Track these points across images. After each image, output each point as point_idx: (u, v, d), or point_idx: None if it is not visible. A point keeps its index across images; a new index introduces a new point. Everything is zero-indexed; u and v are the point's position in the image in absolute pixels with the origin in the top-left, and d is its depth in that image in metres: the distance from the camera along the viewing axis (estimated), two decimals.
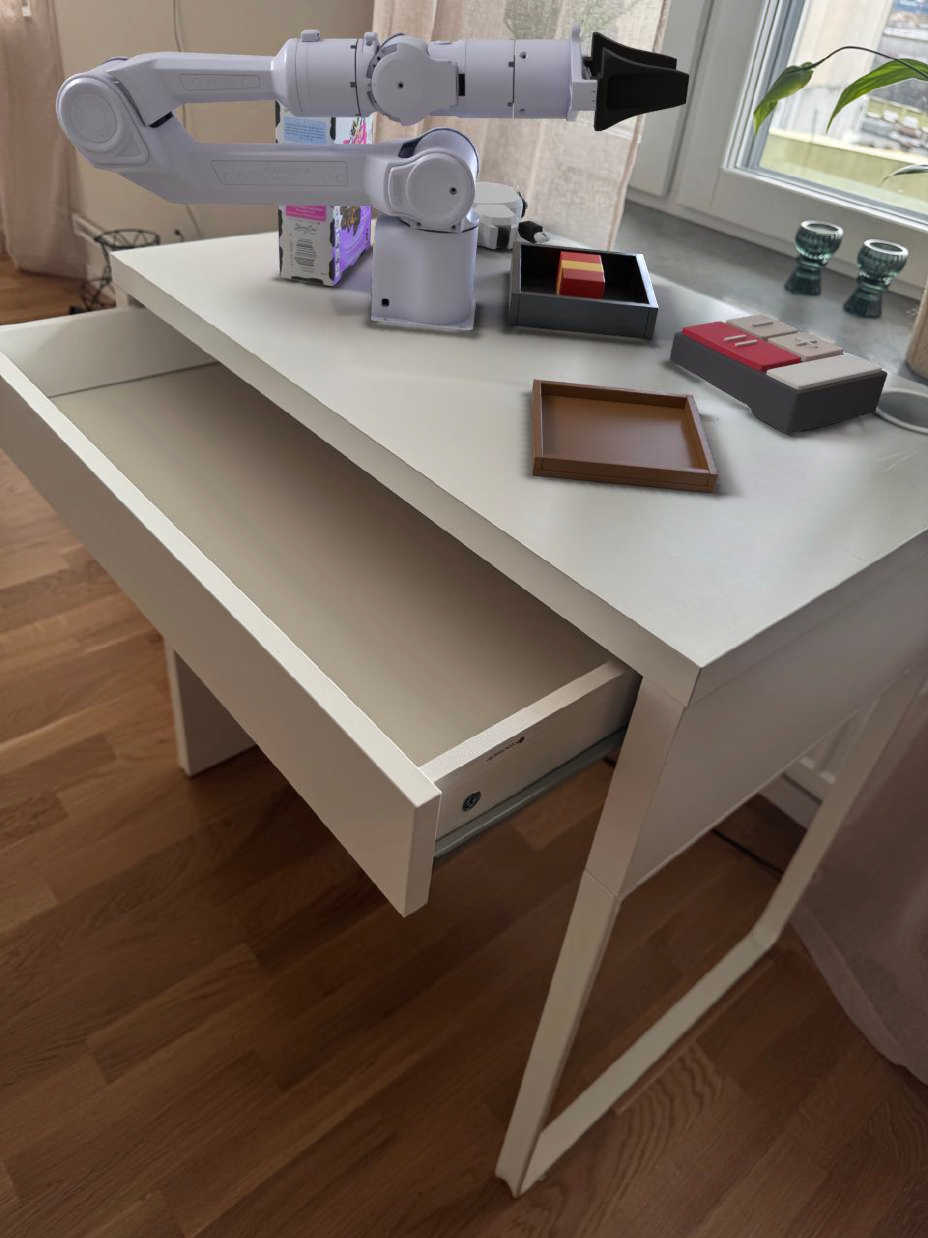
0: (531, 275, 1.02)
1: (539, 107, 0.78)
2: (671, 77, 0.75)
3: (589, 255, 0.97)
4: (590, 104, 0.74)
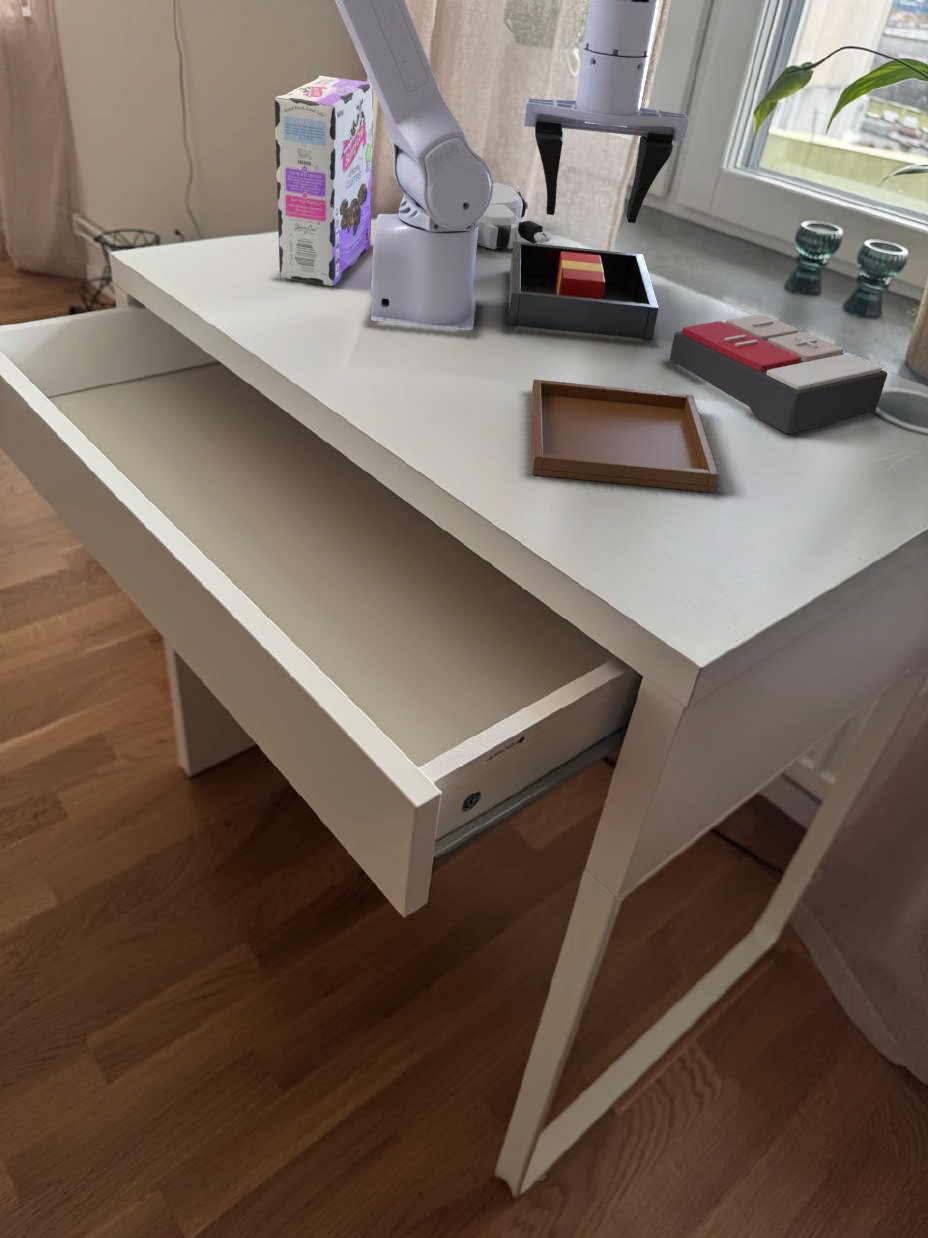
0: (531, 275, 1.02)
1: (640, 84, 0.83)
2: None
3: (589, 255, 0.97)
4: (685, 135, 0.86)
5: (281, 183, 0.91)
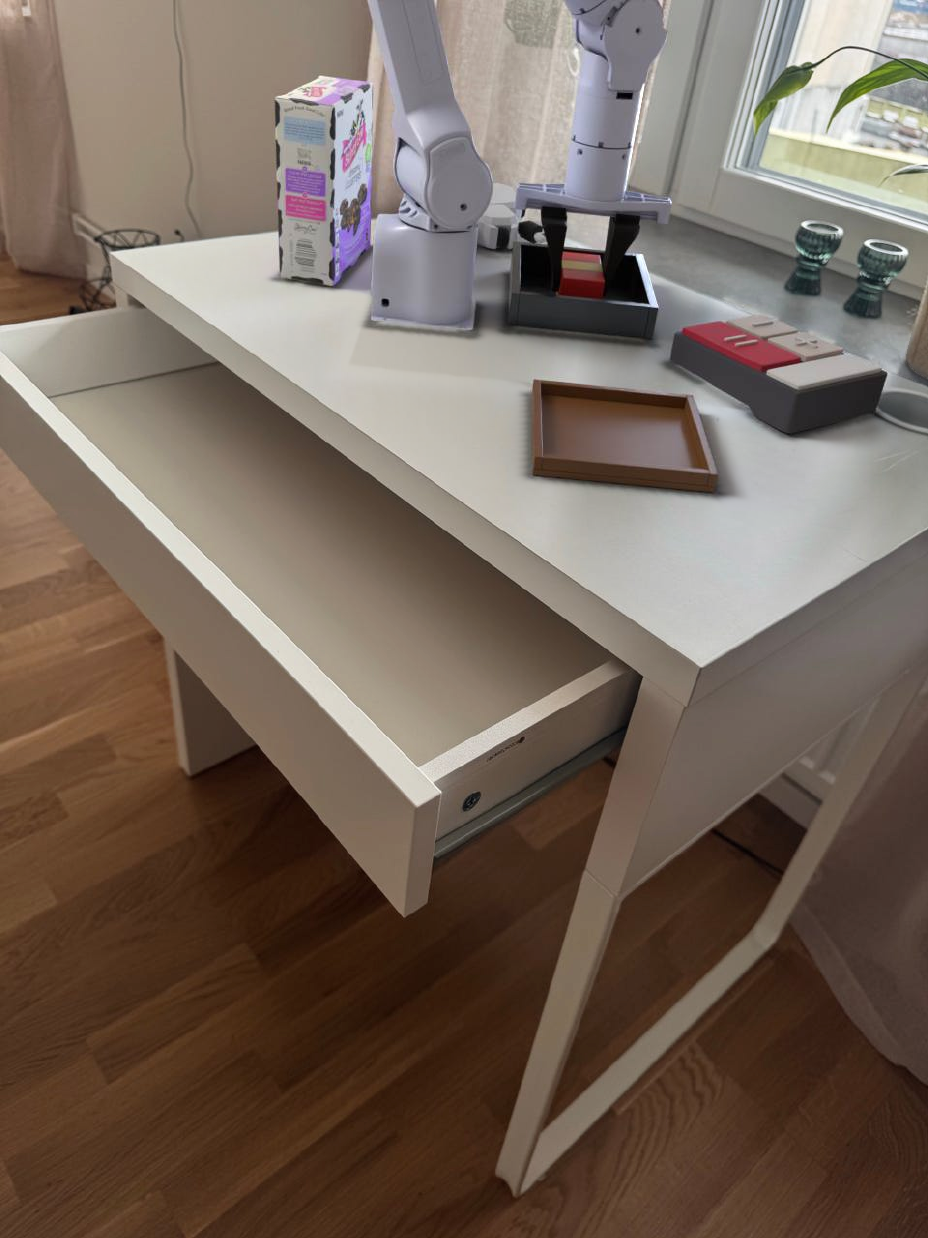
0: (531, 275, 1.02)
1: (625, 173, 0.87)
2: None
3: (589, 255, 0.97)
4: (668, 218, 0.91)
5: (281, 183, 0.91)
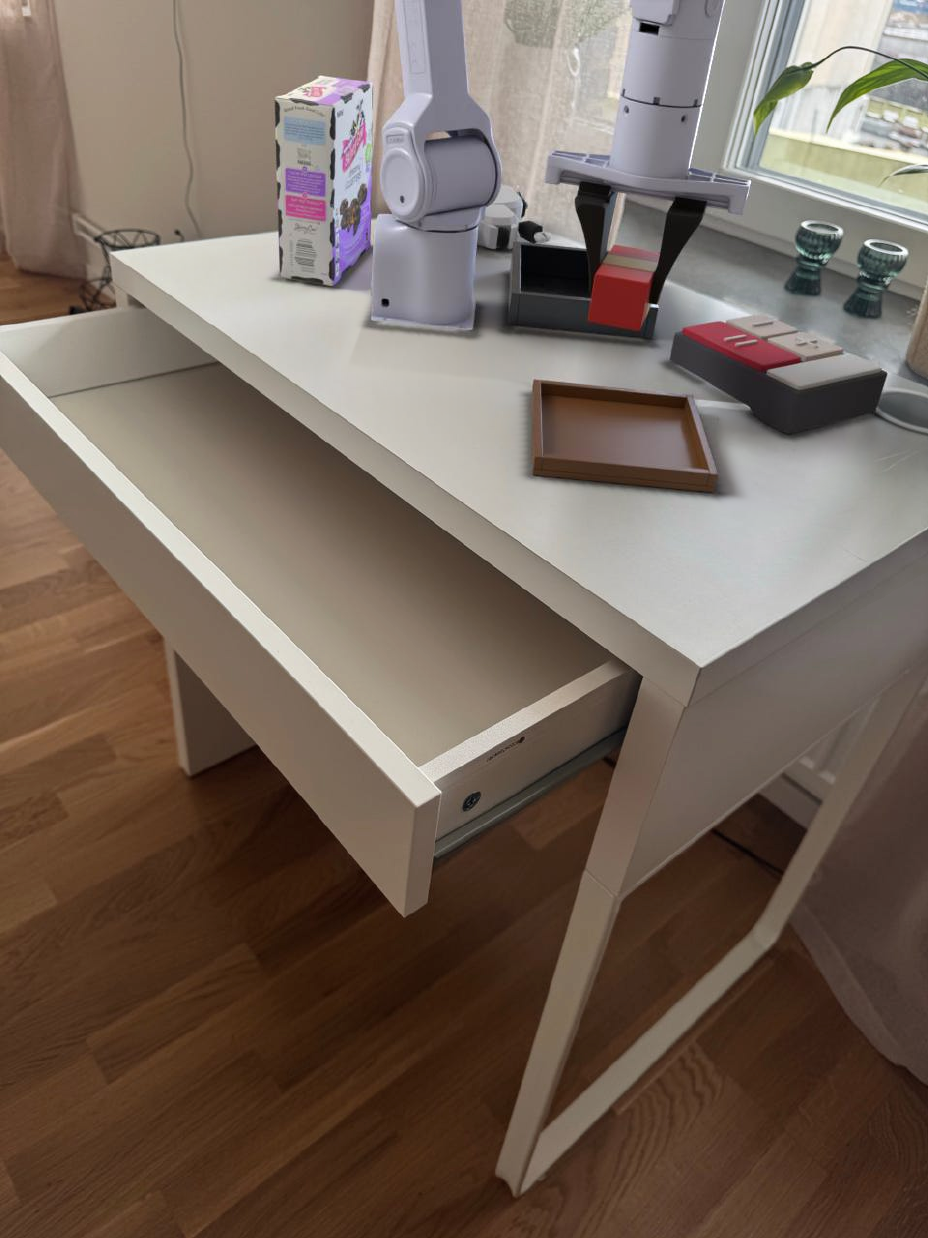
0: (531, 275, 1.02)
1: (686, 141, 0.66)
2: (665, 279, 0.74)
3: (648, 251, 0.76)
4: (744, 207, 0.68)
5: (281, 183, 0.91)
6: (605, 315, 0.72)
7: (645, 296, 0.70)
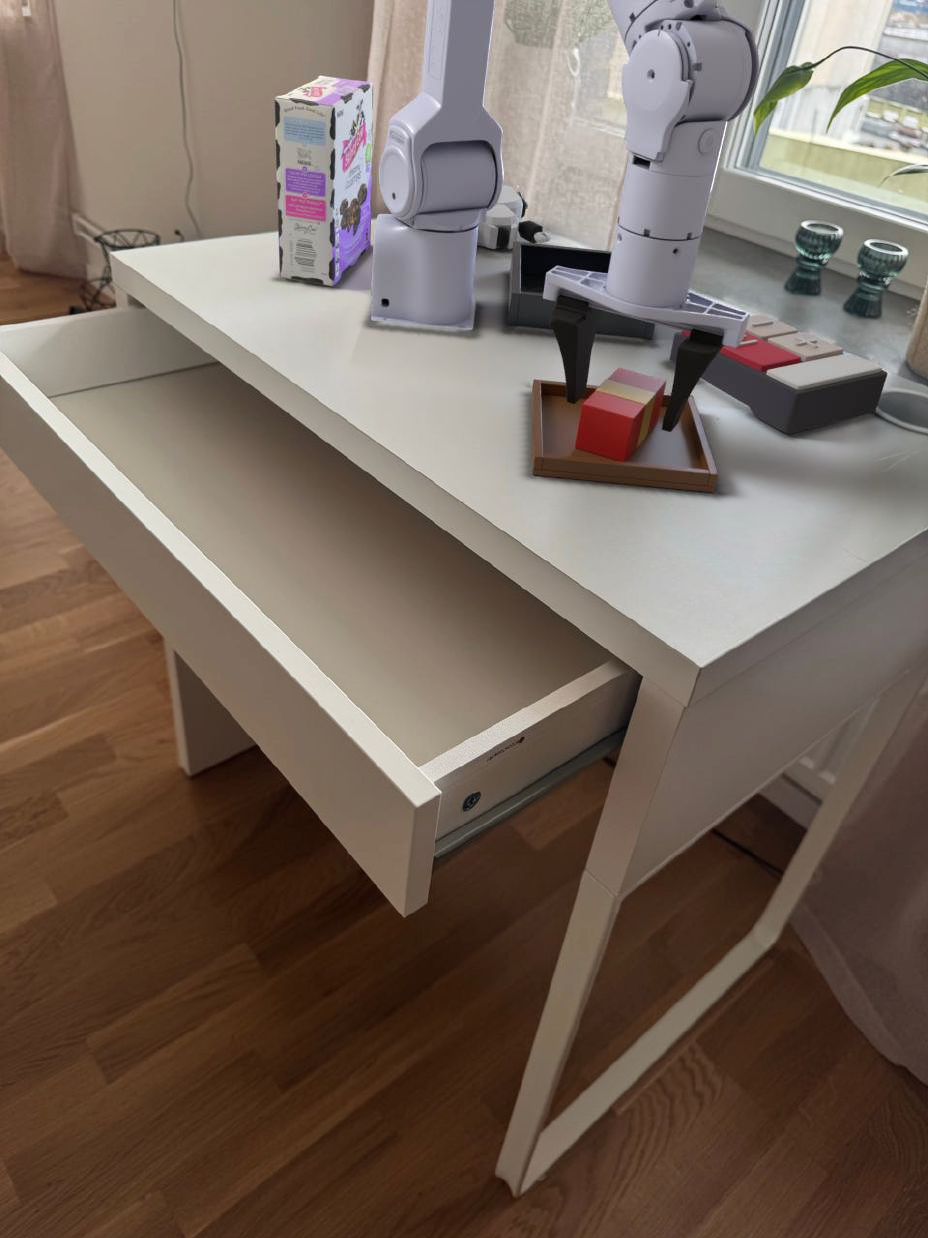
0: (531, 275, 1.02)
1: (678, 272, 0.64)
2: (683, 406, 0.72)
3: (651, 378, 0.75)
4: (739, 340, 0.66)
5: (281, 183, 0.91)
6: (591, 444, 0.71)
7: (630, 430, 0.69)
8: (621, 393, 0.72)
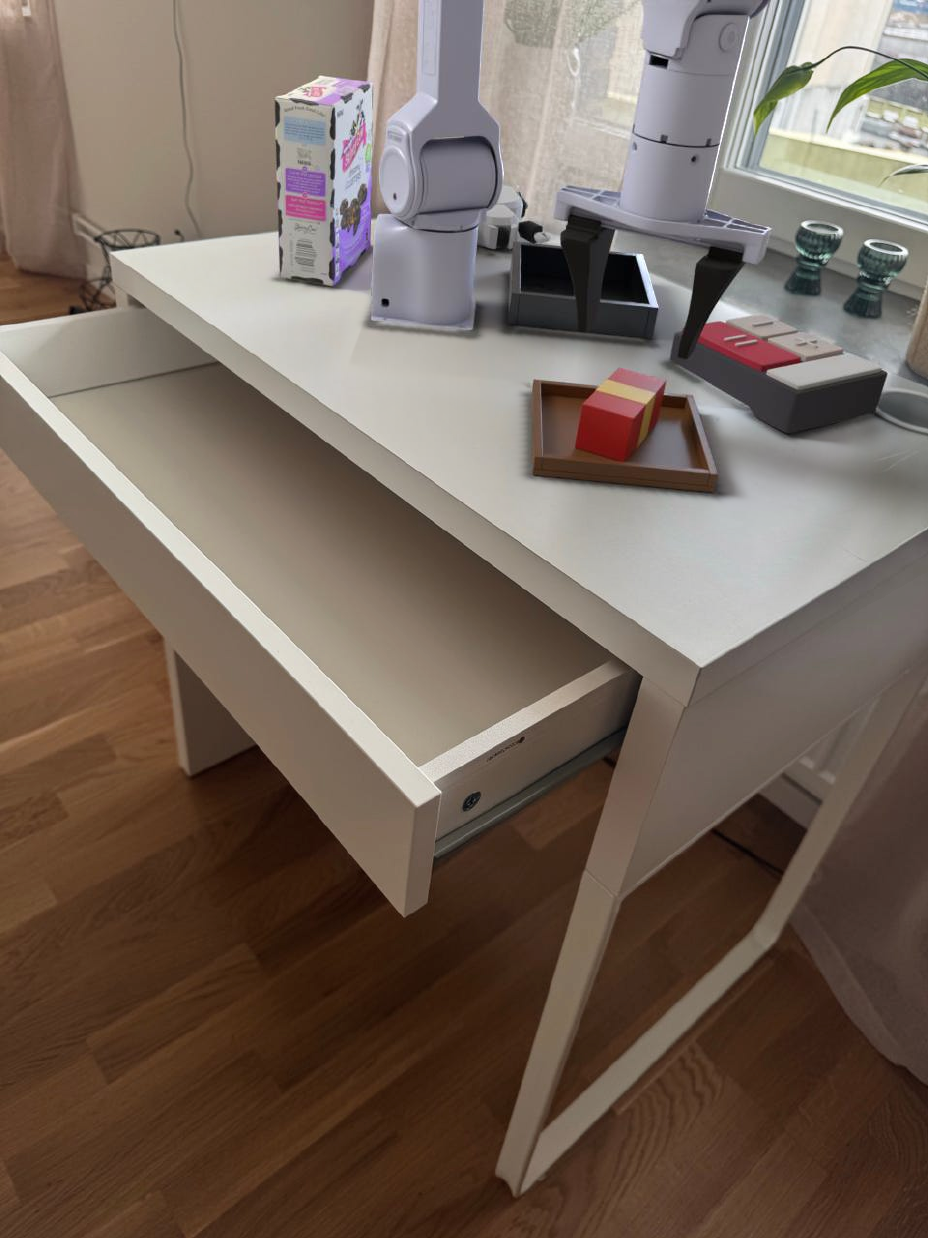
0: (531, 275, 1.02)
1: (697, 183, 0.61)
2: (700, 332, 0.68)
3: (651, 378, 0.75)
4: (760, 256, 0.63)
5: (281, 183, 0.91)
6: (591, 444, 0.71)
7: (630, 430, 0.69)
8: (621, 393, 0.72)
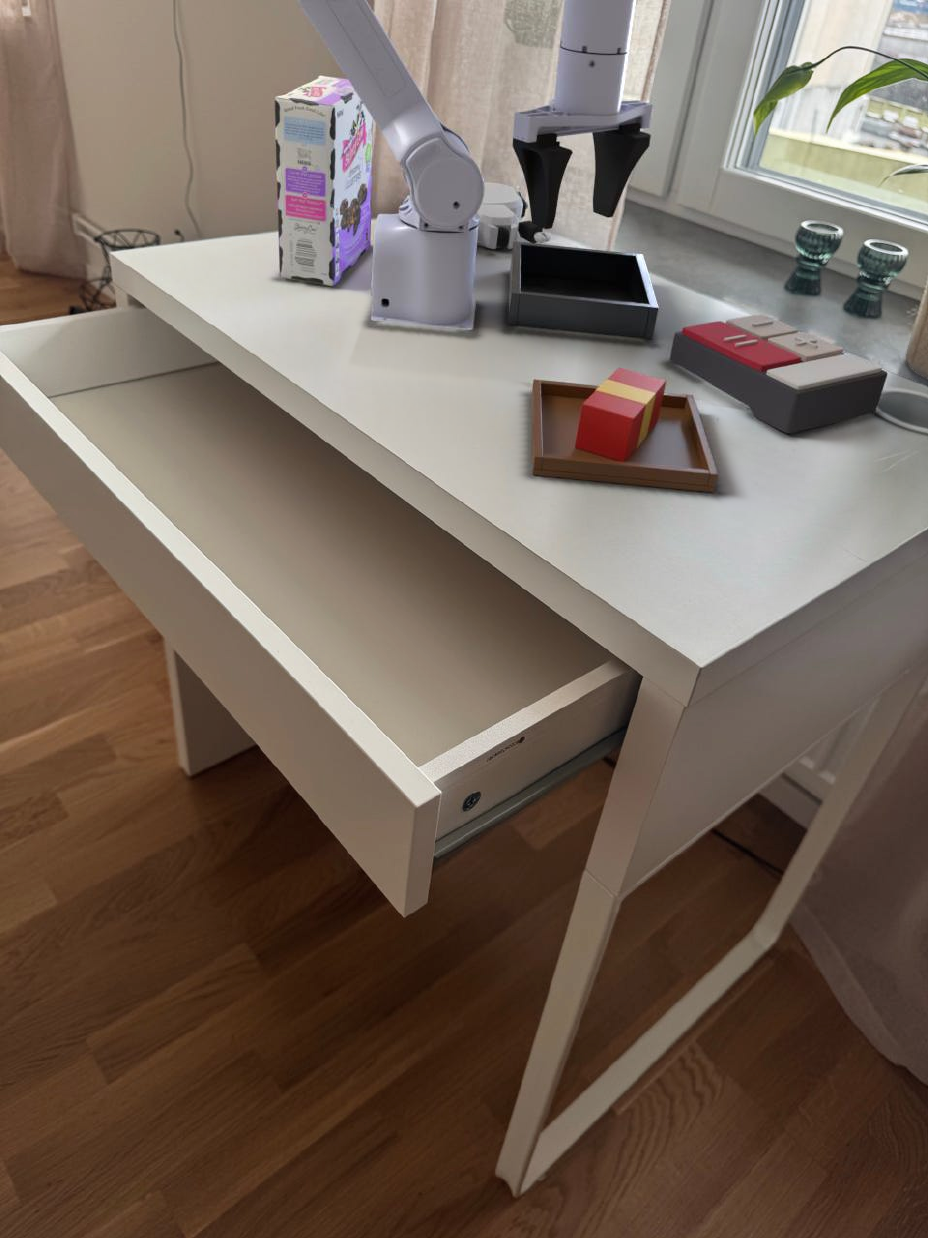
0: (531, 275, 1.02)
1: None
2: None
3: (651, 378, 0.75)
4: None
5: (281, 183, 0.91)
6: (591, 444, 0.71)
7: (630, 430, 0.69)
8: (621, 393, 0.72)
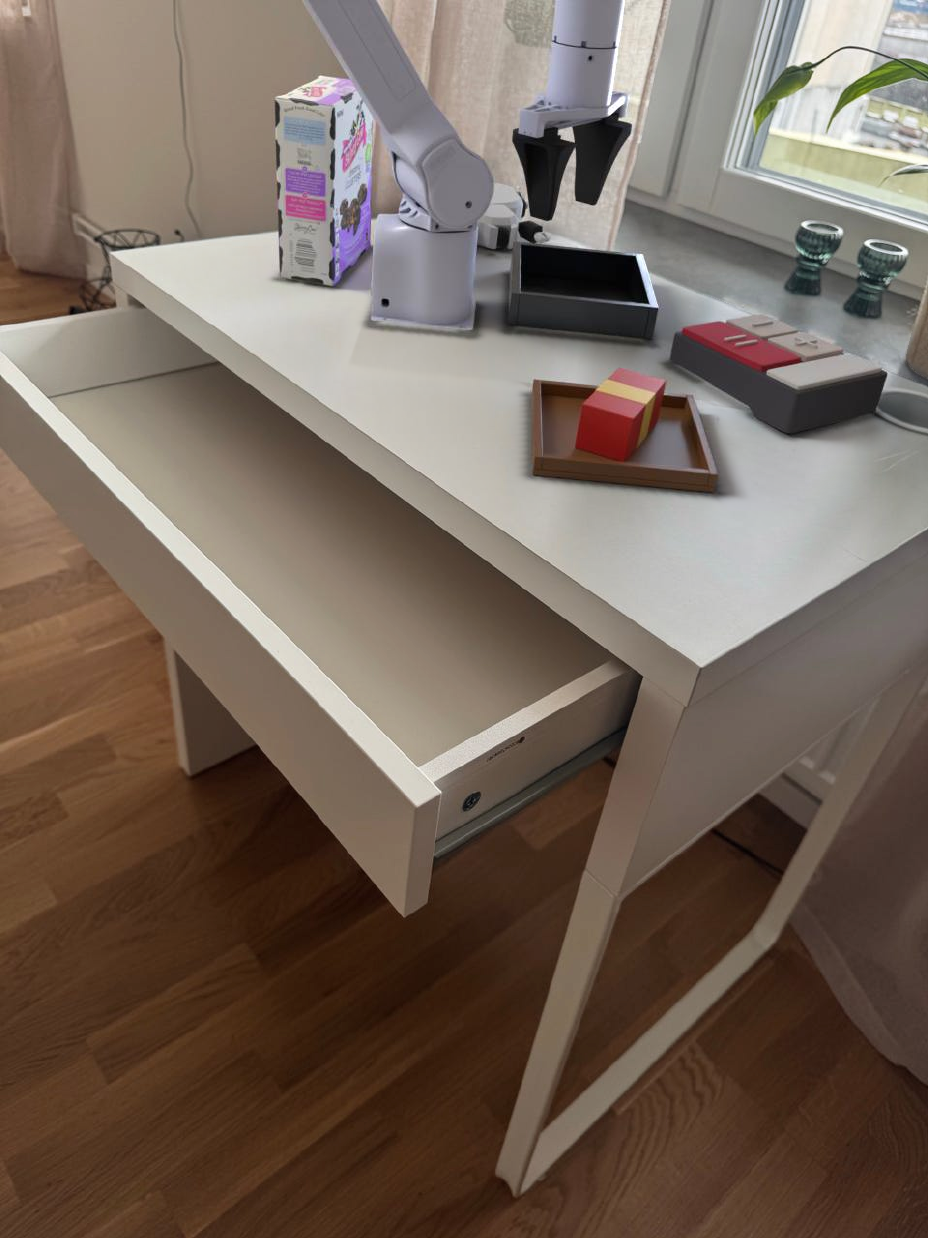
0: (531, 275, 1.02)
1: None
2: None
3: (651, 378, 0.75)
4: None
5: (281, 183, 0.91)
6: (591, 444, 0.71)
7: (630, 430, 0.69)
8: (621, 393, 0.72)
